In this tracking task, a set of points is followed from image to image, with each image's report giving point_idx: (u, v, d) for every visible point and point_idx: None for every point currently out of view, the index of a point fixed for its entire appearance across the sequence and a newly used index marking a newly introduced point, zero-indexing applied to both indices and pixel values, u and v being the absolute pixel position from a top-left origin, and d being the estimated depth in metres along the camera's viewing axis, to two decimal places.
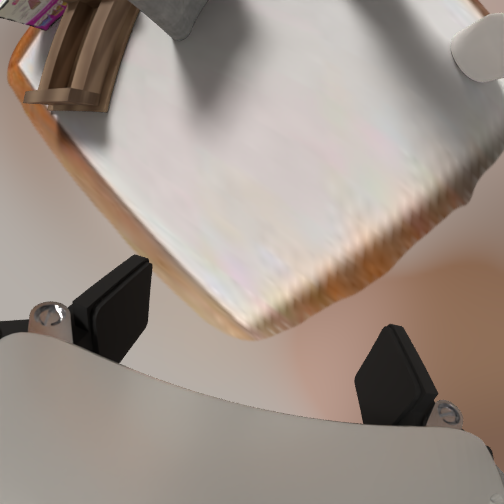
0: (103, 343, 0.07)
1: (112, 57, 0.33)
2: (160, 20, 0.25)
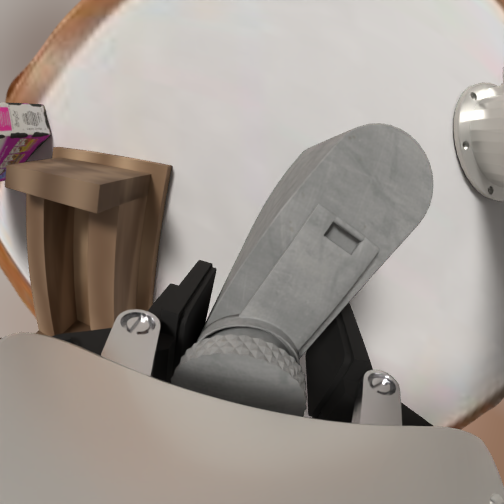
0: (183, 346, 0.08)
1: (138, 300, 0.28)
2: None
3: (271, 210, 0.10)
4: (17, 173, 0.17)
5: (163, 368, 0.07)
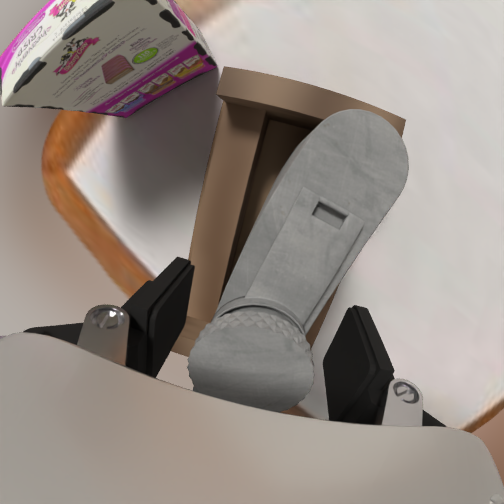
0: (156, 343, 0.08)
1: None
2: None
3: None
4: (255, 79, 0.15)
5: (134, 364, 0.07)
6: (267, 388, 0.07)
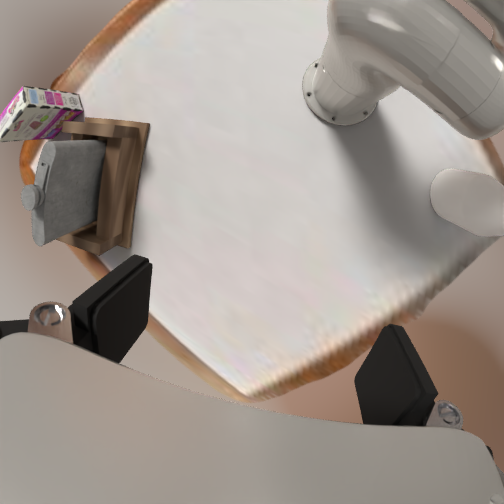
0: (103, 343, 0.07)
1: (127, 199, 0.49)
2: (76, 229, 0.43)
3: None
4: (71, 124, 0.37)
5: None
6: (29, 199, 0.29)
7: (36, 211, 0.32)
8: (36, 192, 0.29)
